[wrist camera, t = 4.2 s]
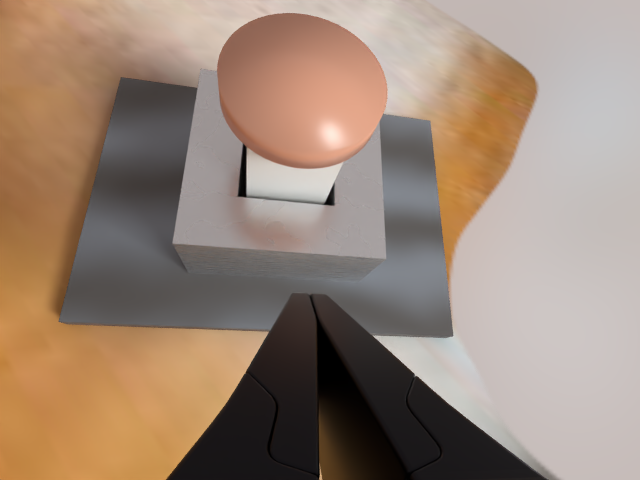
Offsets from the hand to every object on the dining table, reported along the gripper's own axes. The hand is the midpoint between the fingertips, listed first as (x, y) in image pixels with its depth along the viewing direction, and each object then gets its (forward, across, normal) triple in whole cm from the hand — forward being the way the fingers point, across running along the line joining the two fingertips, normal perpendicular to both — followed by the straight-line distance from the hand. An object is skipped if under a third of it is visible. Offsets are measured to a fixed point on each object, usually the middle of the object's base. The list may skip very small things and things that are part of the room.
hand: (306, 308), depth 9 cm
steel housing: (+15, 0, +3) cm, 15 cm away
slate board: (+16, 0, +3) cm, 16 cm away
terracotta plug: (+12, 0, 0) cm, 12 cm away
